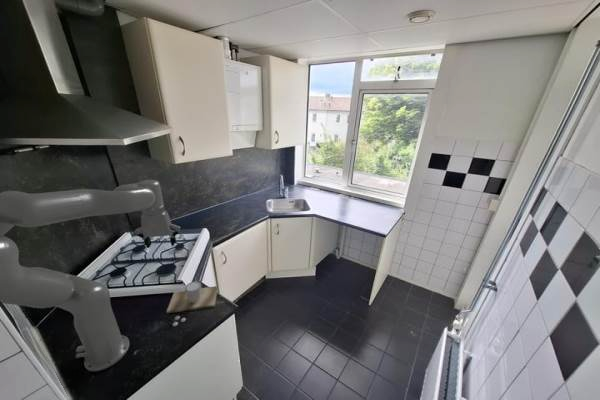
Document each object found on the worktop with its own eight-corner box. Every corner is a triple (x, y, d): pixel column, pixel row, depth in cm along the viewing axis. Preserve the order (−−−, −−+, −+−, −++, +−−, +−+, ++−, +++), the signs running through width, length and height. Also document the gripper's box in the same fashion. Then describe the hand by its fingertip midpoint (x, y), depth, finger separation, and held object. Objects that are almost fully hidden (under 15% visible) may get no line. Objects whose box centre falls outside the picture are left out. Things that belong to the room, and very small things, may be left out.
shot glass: (198, 290, 109) (196, 279, 107) (205, 297, 105) (203, 286, 103) (184, 298, 104) (182, 286, 102) (191, 306, 100) (189, 294, 98)
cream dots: (171, 326, 92) (171, 326, 92) (175, 316, 96) (175, 316, 96) (184, 324, 93) (184, 324, 93) (187, 314, 98) (187, 314, 97)
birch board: (167, 313, 98) (166, 311, 97) (174, 293, 109) (174, 291, 108) (214, 306, 102) (214, 304, 102) (217, 287, 113) (217, 286, 113)
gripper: (125, 214, 86) (135, 252, 92) (174, 212, 90) (180, 248, 96) (134, 207, 92) (143, 242, 99) (179, 205, 96) (185, 239, 103)
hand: (161, 245), depth 97 cm, fingers open, 9 cm apart
